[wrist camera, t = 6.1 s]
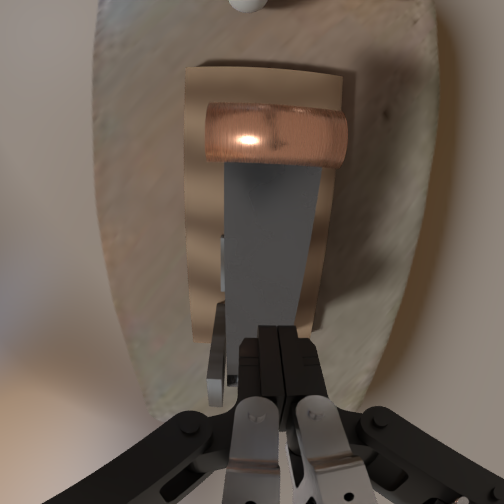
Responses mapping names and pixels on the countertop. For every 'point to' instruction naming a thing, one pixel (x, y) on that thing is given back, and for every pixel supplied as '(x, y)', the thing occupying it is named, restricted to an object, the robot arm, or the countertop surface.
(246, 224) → the lever
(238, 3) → the donut
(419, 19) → the countertop surface
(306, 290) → the cracker base
